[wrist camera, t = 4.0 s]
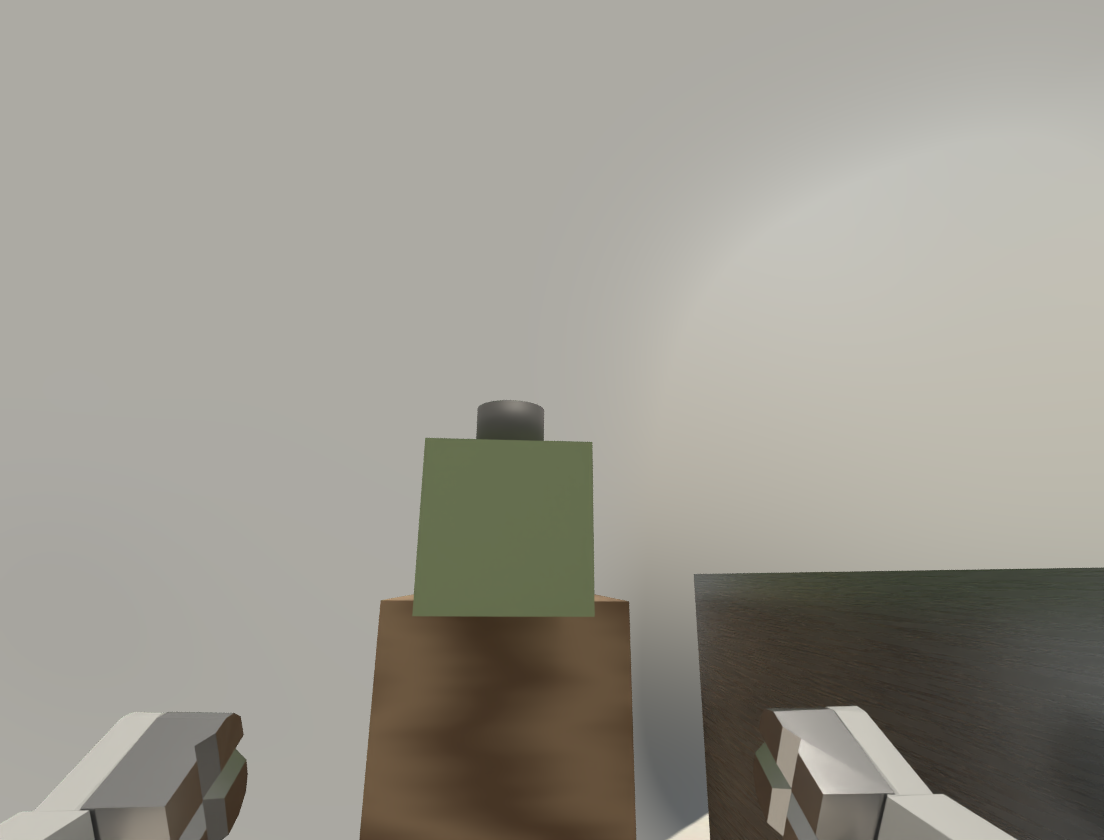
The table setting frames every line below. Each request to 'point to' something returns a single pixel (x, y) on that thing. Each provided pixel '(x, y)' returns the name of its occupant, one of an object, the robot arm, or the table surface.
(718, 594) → the grey tall box
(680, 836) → the table surface
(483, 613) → the green rectangular bar
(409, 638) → the wooden block
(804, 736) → the robot arm
